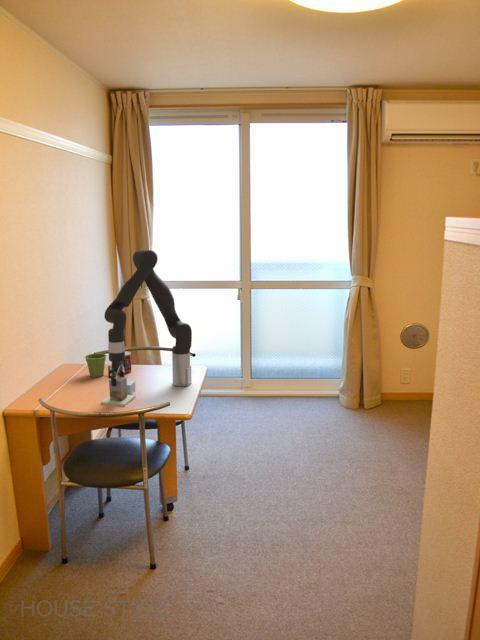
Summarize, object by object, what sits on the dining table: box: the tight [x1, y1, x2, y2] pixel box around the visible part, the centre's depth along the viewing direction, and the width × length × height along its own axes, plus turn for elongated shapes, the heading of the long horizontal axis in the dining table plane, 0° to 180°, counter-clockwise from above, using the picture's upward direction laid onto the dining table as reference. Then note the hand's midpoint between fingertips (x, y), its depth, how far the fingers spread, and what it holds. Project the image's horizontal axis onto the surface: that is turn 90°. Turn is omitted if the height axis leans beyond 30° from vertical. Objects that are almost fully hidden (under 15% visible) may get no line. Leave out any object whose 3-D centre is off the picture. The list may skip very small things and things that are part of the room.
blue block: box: [127, 380, 136, 395], centre depth 257 cm, size 6×6×5 cm
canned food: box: [118, 350, 132, 375], centre depth 289 cm, size 8×8×11 cm
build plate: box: [100, 394, 136, 407], centre depth 246 cm, size 12×12×1 cm
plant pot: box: [84, 352, 108, 378], centre depth 282 cm, size 12×12×11 cm
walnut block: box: [109, 388, 127, 401], centre depth 245 cm, size 6×6×5 cm
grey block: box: [108, 376, 128, 391], centre depth 244 cm, size 6×6×5 cm
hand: (118, 383), depth 244 cm, fingers open, 8 cm apart
